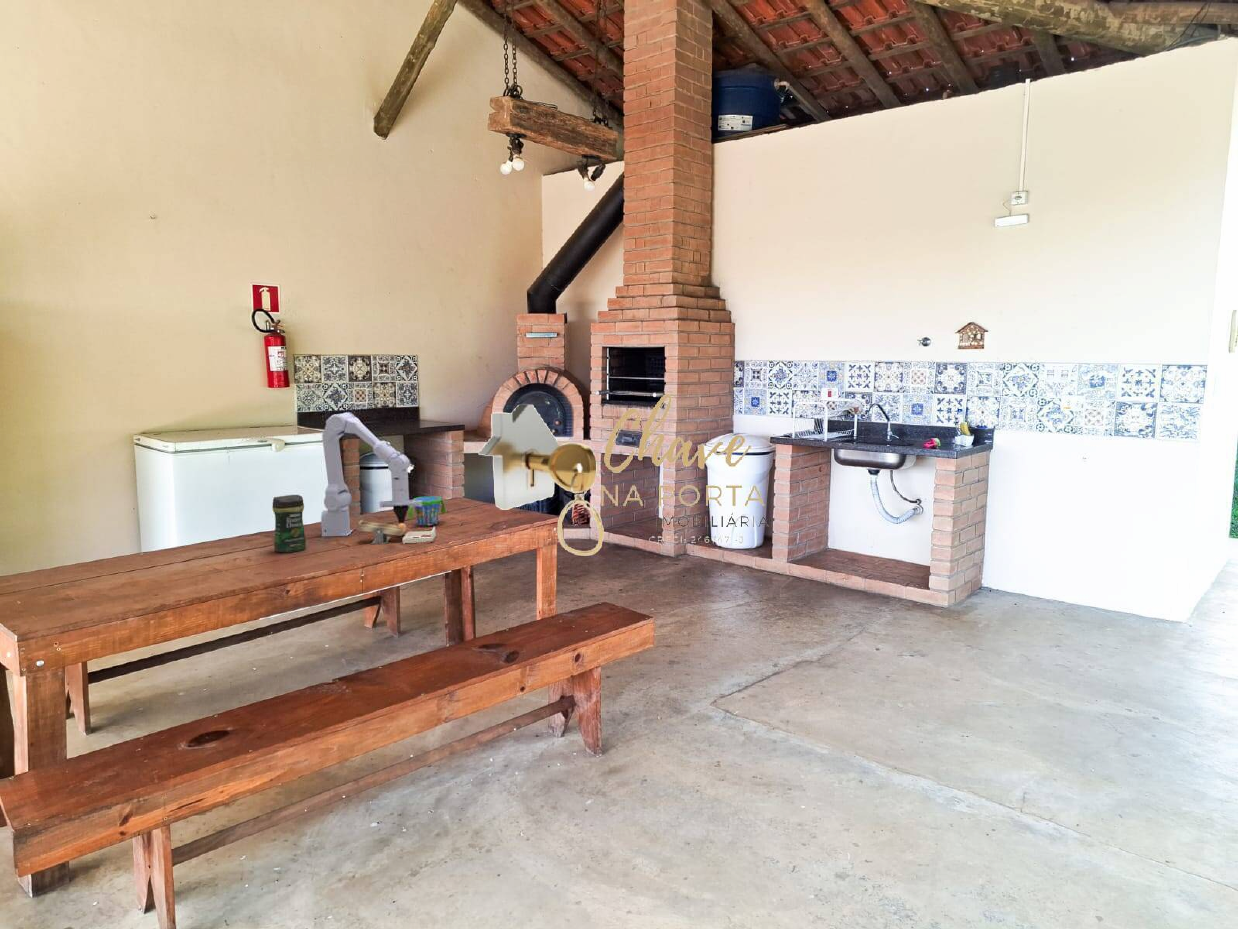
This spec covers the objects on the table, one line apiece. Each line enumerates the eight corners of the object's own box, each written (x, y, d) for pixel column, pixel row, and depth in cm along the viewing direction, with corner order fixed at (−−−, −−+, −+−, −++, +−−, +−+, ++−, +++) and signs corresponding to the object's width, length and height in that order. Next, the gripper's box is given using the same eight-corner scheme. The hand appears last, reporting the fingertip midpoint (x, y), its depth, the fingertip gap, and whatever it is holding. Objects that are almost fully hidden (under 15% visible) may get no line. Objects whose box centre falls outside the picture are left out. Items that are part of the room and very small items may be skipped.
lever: (357, 530, 277) (357, 523, 276) (364, 522, 289) (365, 515, 289) (401, 535, 279) (402, 529, 278) (406, 527, 291) (407, 521, 291)
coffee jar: (280, 554, 263) (277, 499, 260) (271, 550, 269) (268, 495, 266) (310, 549, 269) (306, 495, 267) (300, 545, 275) (297, 492, 272)
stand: (371, 544, 276) (371, 530, 276) (376, 538, 285) (375, 524, 284) (386, 543, 277) (386, 529, 276) (390, 538, 286) (390, 524, 285)
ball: (399, 522, 279) (407, 526, 280) (401, 520, 282) (408, 525, 283) (395, 529, 279) (402, 534, 280) (396, 527, 282) (404, 532, 283)
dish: (402, 543, 277) (402, 534, 276) (406, 537, 287) (406, 527, 286) (432, 543, 278) (431, 533, 278) (435, 536, 288) (435, 526, 287)
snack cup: (438, 519, 316) (437, 494, 315) (452, 523, 309) (452, 497, 307) (402, 525, 305) (401, 499, 304) (416, 530, 298) (415, 503, 296)
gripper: (377, 491, 282) (379, 529, 284) (419, 490, 283) (421, 528, 285) (380, 488, 289) (382, 525, 291) (422, 487, 290) (423, 524, 292)
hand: (401, 526), depth 289 cm, fingers closed, pressing on lever
